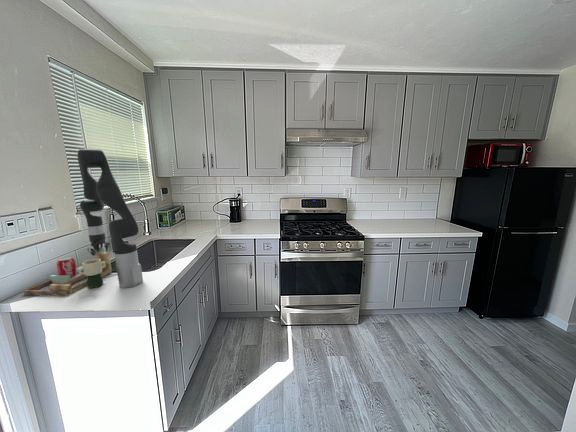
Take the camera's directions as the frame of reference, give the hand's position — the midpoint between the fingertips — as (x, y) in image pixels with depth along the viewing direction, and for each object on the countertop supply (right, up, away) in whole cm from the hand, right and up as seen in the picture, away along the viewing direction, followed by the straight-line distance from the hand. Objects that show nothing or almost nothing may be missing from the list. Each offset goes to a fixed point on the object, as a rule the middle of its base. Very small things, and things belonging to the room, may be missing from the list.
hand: (101, 260), depth 143 cm
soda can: (-2, -7, -19) cm, 20 cm away
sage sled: (-1, -5, -12) cm, 13 cm away
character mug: (+18, -8, -26) cm, 33 cm away
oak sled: (+9, -7, -22) cm, 24 cm away
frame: (+3, -7, -24) cm, 25 cm away
